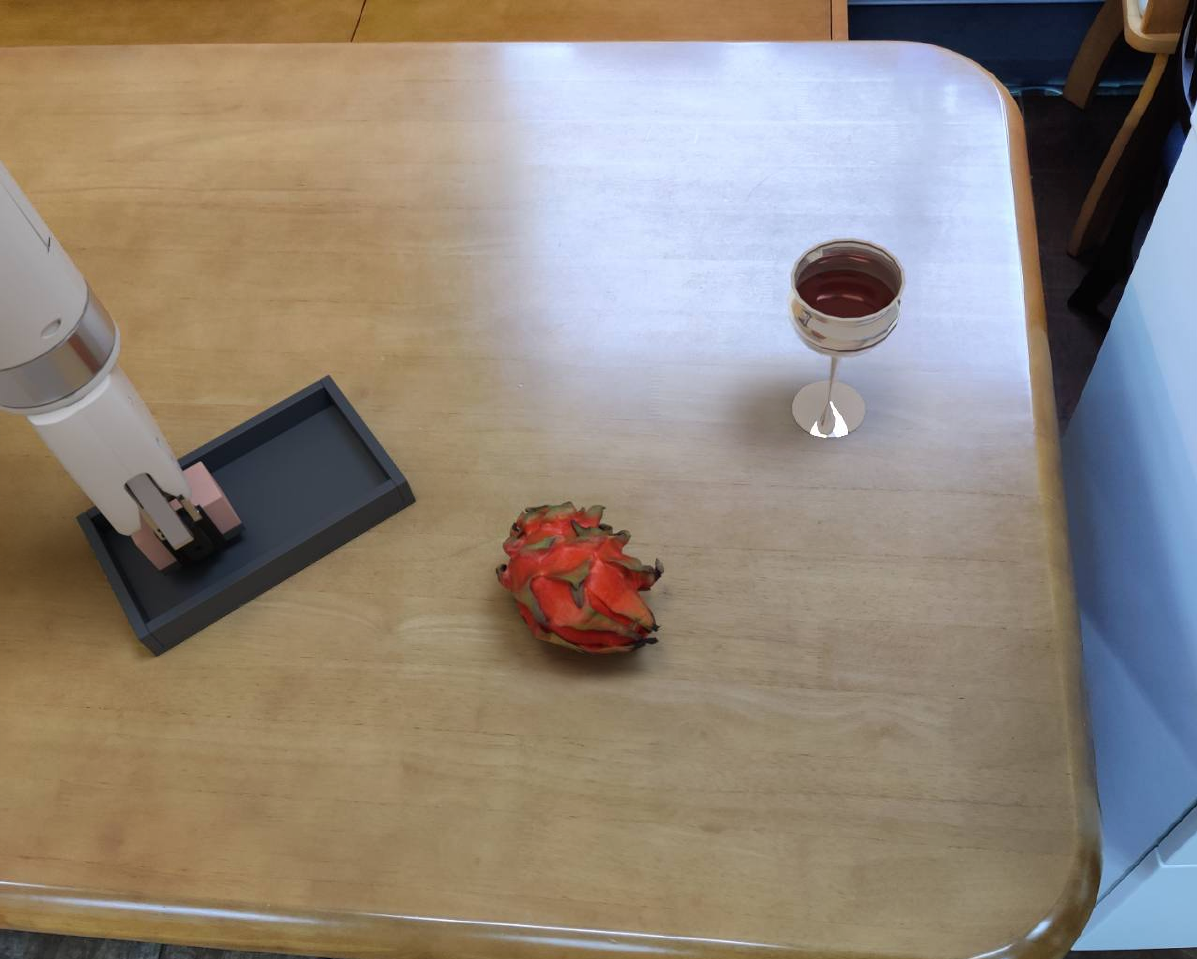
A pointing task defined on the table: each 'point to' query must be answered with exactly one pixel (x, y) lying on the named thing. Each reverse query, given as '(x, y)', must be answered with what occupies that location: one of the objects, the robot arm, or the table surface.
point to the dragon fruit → (578, 580)
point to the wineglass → (841, 322)
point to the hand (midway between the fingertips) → (191, 529)
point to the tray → (260, 513)
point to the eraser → (203, 494)
